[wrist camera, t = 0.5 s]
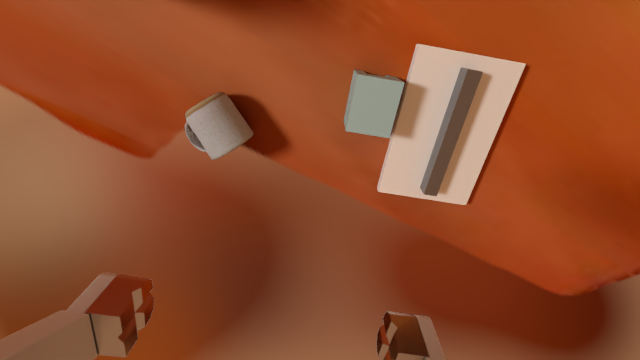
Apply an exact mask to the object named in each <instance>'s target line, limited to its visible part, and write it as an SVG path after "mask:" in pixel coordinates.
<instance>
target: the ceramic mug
mask: <svg viewBox="0 0 640 360" xmlns="http://www.w3.org/2000/svg"><path fill="white" fill-rule="evenodd" d="M185 118H186V120H187V122H186V124H185V132H186V135H187V137H188V139H189V140H190V142H191V143H192V144H193V145H194V146H195V147H196V148H197V149H199V150H201V151H204V152H207V153H208V154H209V156H210V157H211V158H212V159H213V160H215V159H217V158H220V157H222V156H224V155H226V154H227V153H229V152H231V151H232V150H234V149H236V148H238V147H239V146H241V145H242V144H243V143H245V142H246V141H247V140H249V139H250V138H251V137H252V136H253V134H254V133H253V131H252V130H251V128H250V127H249V125H248V124H247V123H246V121H245V120H244V118H243V117H242V115H241V114H240V113H239V111H238V110H237V108H236V107H235V105H234V104H233V102H232V101H231V99H230V98H229V97H228V96H227V95H226V94H225V93H223V92H218V93H216V94H214V95H212V96H210V97H209V98H207V99H205V100H203V101H202V102H200V103H198V104H197V105H195V106H194V107H192V108H191V109H189V110H188V111H187V112H186V114H185Z"/></svg>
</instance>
